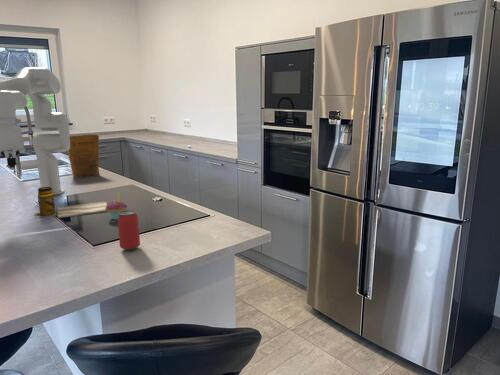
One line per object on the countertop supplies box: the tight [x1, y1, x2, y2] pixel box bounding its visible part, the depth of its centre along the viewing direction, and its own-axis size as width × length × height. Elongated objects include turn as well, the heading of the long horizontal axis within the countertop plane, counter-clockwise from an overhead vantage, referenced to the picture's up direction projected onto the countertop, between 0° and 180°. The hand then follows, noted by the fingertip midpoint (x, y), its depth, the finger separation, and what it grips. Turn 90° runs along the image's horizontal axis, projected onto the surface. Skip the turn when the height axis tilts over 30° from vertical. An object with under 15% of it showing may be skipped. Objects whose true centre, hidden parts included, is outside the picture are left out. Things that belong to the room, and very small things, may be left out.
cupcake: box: [106, 191, 128, 221], centre depth 160 cm, size 9×8×12 cm
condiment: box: [34, 187, 58, 219], centre depth 166 cm, size 7×8×12 cm
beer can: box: [117, 209, 141, 250], centre depth 128 cm, size 7×7×12 cm
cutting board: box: [57, 201, 108, 219], centre depth 173 cm, size 16×21×1 cm
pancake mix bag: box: [67, 134, 101, 178], centre depth 243 cm, size 7×19×28 cm, turn 113°
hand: (12, 167), depth 158 cm, fingers closed
